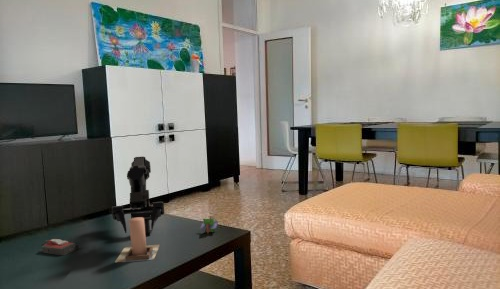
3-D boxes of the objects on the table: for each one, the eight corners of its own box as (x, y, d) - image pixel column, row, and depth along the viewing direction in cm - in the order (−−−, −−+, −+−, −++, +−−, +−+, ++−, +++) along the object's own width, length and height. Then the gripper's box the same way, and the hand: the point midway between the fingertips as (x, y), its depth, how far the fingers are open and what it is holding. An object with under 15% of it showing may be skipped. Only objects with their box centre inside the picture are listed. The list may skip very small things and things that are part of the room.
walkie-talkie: (84, 248, 145) (47, 243, 153) (83, 237, 145) (46, 233, 153) (65, 257, 137) (27, 251, 145) (64, 245, 137) (26, 240, 145)
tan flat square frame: (124, 250, 140) (124, 247, 140) (160, 247, 141) (159, 244, 141) (114, 266, 125) (114, 262, 125) (153, 263, 127) (153, 259, 126)
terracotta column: (129, 255, 131) (126, 219, 130) (143, 251, 134) (140, 216, 133) (135, 259, 127) (132, 222, 126) (149, 255, 130) (146, 218, 129)
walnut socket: (130, 252, 134) (130, 248, 134) (152, 250, 135) (152, 246, 135) (125, 261, 126) (125, 257, 126) (149, 259, 127) (148, 255, 127)
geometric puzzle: (213, 232, 150) (216, 213, 154) (197, 231, 151) (200, 213, 155) (218, 237, 156) (220, 219, 160) (202, 237, 157) (205, 219, 161)
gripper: (109, 185, 137) (108, 223, 127) (162, 180, 141) (164, 217, 131) (114, 201, 145) (113, 238, 136) (163, 196, 149) (165, 231, 140)
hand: (139, 231), depth 135 cm, fingers open, 9 cm apart
